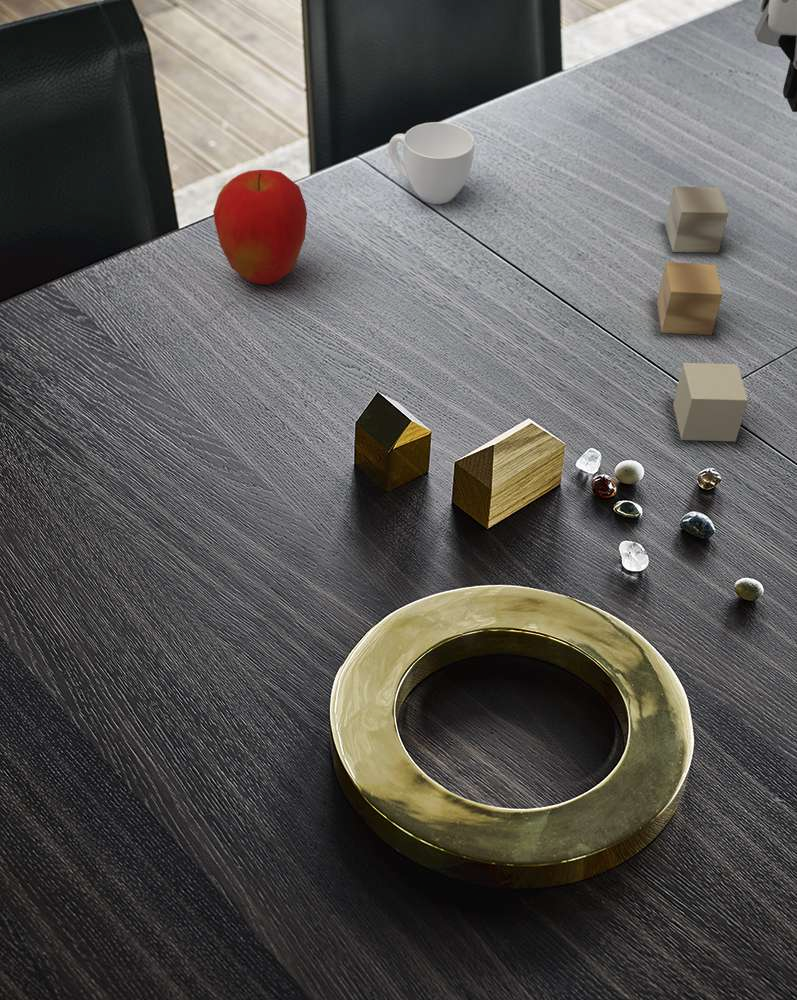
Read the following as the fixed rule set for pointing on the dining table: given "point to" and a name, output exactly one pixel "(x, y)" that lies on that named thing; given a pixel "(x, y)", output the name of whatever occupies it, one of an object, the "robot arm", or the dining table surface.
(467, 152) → the cup
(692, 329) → the maple block
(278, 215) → the apple
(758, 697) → the dining table surface
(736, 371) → the cream block
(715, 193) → the ash block
